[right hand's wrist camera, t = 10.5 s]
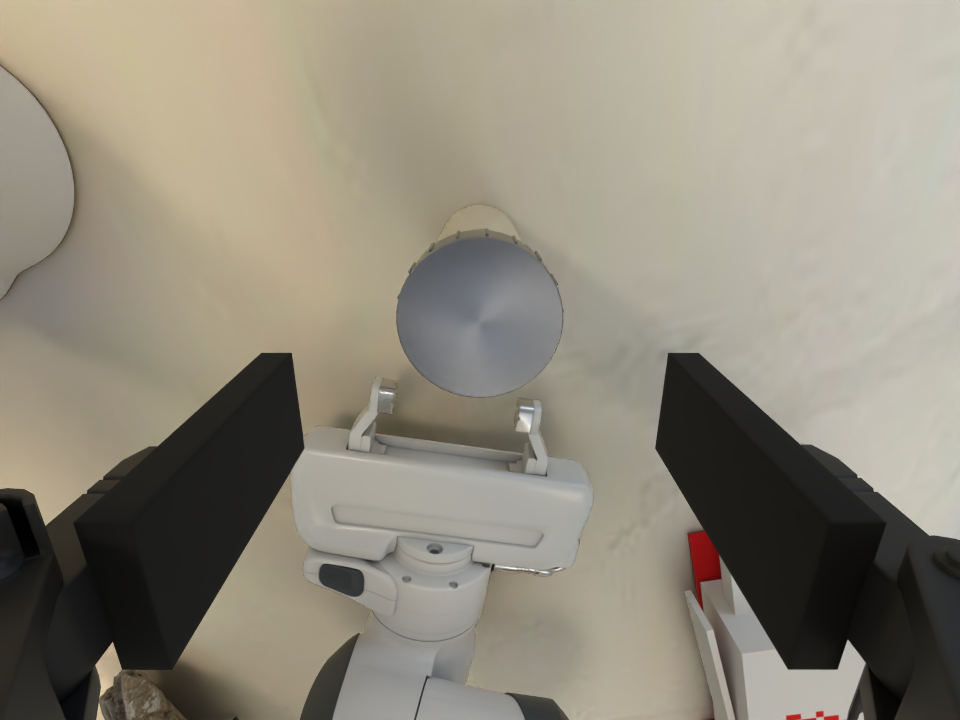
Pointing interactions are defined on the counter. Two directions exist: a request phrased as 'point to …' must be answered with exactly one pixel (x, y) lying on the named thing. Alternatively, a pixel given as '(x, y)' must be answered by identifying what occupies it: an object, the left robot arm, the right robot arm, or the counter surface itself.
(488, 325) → the lid
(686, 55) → the counter surface
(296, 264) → the counter surface
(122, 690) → the fossil
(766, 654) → the toy
